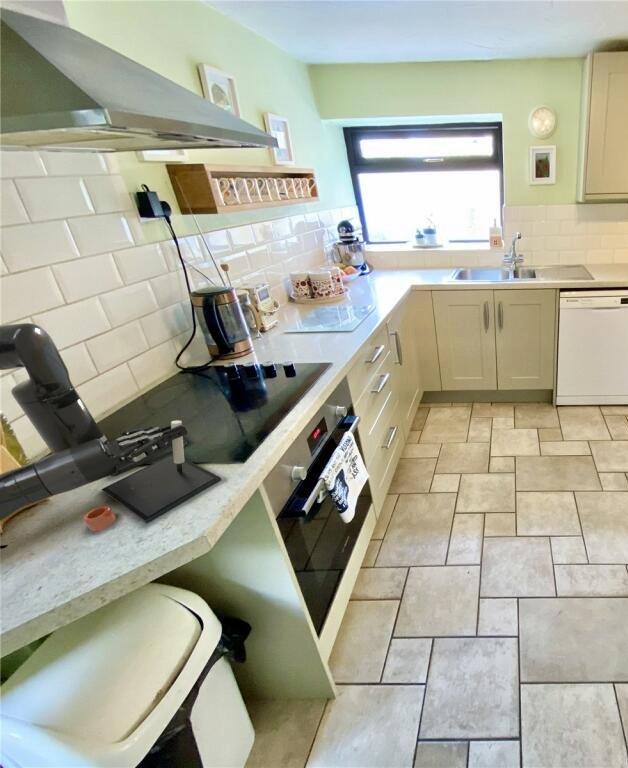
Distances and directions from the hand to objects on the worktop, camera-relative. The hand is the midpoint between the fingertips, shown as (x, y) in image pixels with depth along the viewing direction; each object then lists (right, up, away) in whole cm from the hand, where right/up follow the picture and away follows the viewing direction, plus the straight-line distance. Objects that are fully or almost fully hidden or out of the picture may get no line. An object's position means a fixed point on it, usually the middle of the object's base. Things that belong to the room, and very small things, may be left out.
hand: (184, 427), depth 91 cm
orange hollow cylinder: (-8, -18, -10) cm, 22 cm away
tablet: (-4, -13, -1) cm, 13 cm away
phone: (-17, -8, +10) cm, 21 cm away
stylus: (-2, -10, +2) cm, 11 cm away
